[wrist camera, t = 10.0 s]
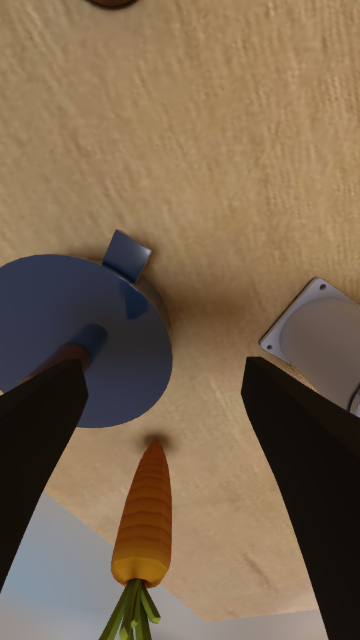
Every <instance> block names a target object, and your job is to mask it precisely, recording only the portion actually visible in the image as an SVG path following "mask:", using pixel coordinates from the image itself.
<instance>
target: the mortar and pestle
mask: <svg viewBox="0 0 360 640" xmlns="http://www.w3.org/2000/svg"><path fill="white" fill-rule="evenodd" d="M93 1H95V2H97V3H100V4H103V5H108V6H116V5H122V4H125V3H127V2H129V1H131V0H93Z"/></svg>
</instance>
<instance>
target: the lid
mask: <svg viewBox="0 0 360 640" xmlns="http://www.w3.org/2000/svg"><path fill="white" fill-rule="evenodd" d="M65 359H81V363H82V367H83V372H84V376H85V381H86V385H87V390H88V394H89V397H88V400H87V403H86V405H85V408H84V411H83V413H82V416H81V418H80V420H79V422H78V424H77V426H76V427H80V428H103V427H111V426H115V425H119V424H123V423H126V422H128V421H131V420H133V419H135V418H137V417H139V416H141V415H142V414H144V413H145V412H147V411H148V410H149V409H150V408H151V407H152V406H153V405H155V403H156V402H157V401H158V400H159V399H160V397H161V396H162V394H163V393H164V391H165V389H166V387H167V385H168V382H169V380H170V376H171V372H172V363H173V350H172V342H171V338H170V334H169V331H168V329H167V326H166V323H165V321H164V319H163V318H162V316H161V314H160V312H159V310H158V309H157V308H156V306H155V305H154V304H153V302H152V301H151V300H150V298H149V297H148V296H147V295H146V294H145V293H144V292H143V291H142V290H141V289H140V288H139V287H138V286H136V285H135V284H134V283H133V282H132V281H130V280H129V279H128V278H126V277H125V276H123V275H122V274H120V273H118V272H117V271H115V270H113V269H111V268H109V267H107V266H105V265H103V264H101V263H98V262H95V261H92V260H89V259H86V258H82V257H77V256H73V255H64V254H43V255H33V256H29V257H24V258H20V259H17V260H15V261H12V262H9V263H7V264H5V265H4V266H2V267H0V390H1V391H2V392H3V393H6V392H8V391H10V390H11V389H13V388H15V387H17V386H18V385H20V384H22V383H24V382H25V381H27V380H29V379H30V378H32V377H34V376H36V375H37V374H39V373H41V372H43V371H44V370H46V369H48V368H49V367H51V366H53V365H55V364H57V363H59V362H61V361H63V360H65Z"/></svg>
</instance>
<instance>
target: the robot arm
mask: <svg viewBox="0 0 360 640" xmlns="http://www.w3.org/2000/svg"><path fill="white" fill-rule="evenodd" d="M322 284H323V287H322V288H321V289H320V286H321V285H322ZM259 345H260V347H261V348H262V349H264V350H266V351H267V352H269V353H271V354H273V355H274V356H276V357H278V358H280V359H281V360H283V361H285V362H287V363H288V364H290V365H292V366H294V367H295V368H297V369H298V370H299V371H300V373H301V374H302V375H303V376H304V377H305V378H306V379H307V380H308V381H309V382H310V384H311V385H312V386H313V387H314V388H315V389H316V390H317V391H318V392H319V393H320V394H318V393H317V392H315V391H313V390H312V389H310V388H309V387H307V386H305V385H304V384H302V383H301V382H299V381H298V380H296V379H295V378H293V377H292V376H290V375H289V374H287V373H286V372H284V371H283V370H281V369H280V368H278V367H277V366H275V365H274V364H272V363H270V362H269V361H267V360H266V359H264V358H262V357H247V359H246V365H245V371H244V377H243V383H242V389H241V395H242V399H243V402H244V406H245V409H246V412H247V415H248V418H249V420H250V422H251V425H252V427H253V429H254V431H255V434H256V436H257V438H258V440H259V443H260V445H261V447H262V449H263V452H264V454H265V456H266V458H267V461H268V463H269V465H270V467H271V470H272V472H273V474H274V477H275V479H276V481H277V484H278V486H279V489H280V492H281V495H282V497H283V500H284V503H285V506H286V509H287V512H288V514H289V517H290V520H291V523H292V526H293V529H294V532H295V535H296V538H297V541H298V544H299V547H300V550H301V553H302V556H303V559H304V562H305V565H306V568H307V571H308V574H309V578H310V581H311V584H312V587H313V590H314V593H315V597H316V600H317V603H318V606H319V609H320V613H321V616H322V619H323V622H324V625H325V629H326V632H327V636H328V639H329V640H360V305H358V304H357V303H356V302H354V301H353V300H351V299H350V298H349V297H347V296H346V295H344V294H343V293H342V292H340V291H339V290H337V289H336V288H334V287H333V286H332V285H330V284H329V283H327V282H326V281H325V280H323V279H321V278H315V279H313V280H312V281H311V282H310V283H309V284H308V286H307V287H306V288H305V289H304V290H303V292H302V293H301V294H300V295H299V296H298V297H297V299H296V300H295V301H294V302H293V303H292V304H291V306H290V307H289V308H288V309H287V310H286V312H285V313H284V314H283V315H282V316H281V317H280V319H279V320H278V321H277V322H276V323H275V324H274V326H273V327H272V328H271V329H270V330H269V332H268V333H267V334H266V335H265V336H264V337H263V339H262V340H261V341H260V343H259ZM268 345H271V346H270V347H268V348H267V346H268ZM88 397H89V394H88V390H87V385H86V381H85V376H84V372H83V367H82V363H81V359H65V360H63V361H61V362H59V363H57V364H55V365H53V366H51V367H49V368H48V369H46V370H44V371H43V372H41V373H39V374H37V375H36V376H34V377H32V378H30V379H29V380H27V381H25V382H24V383H22V384H20V385H18V386H17V387H15V388H13V389H11V390H10V391H8V392H6V393H4V394H2V395H1V396H0V593H1V590H2V587H3V585H4V582H5V580H6V577H7V575H8V572H9V570H10V567H11V565H12V562H13V560H14V557H15V555H16V553H17V550H18V548H19V545H20V543H21V540H22V538H23V535H24V533H25V531H26V528H27V526H28V524H29V521H30V519H31V517H32V514H33V512H34V510H35V507H36V505H37V503H38V500H39V498H40V496H41V494H42V492H43V490H44V488H45V486H46V484H47V482H48V480H49V478H50V476H51V474H52V472H53V470H54V468H55V466H56V464H57V463H58V461H59V459H60V457H61V455H62V453H63V451H64V449H65V447H66V446H67V444H68V442H69V440H70V438H71V436H72V434H73V432H74V430H75V428H76V426H77V424H78V422H79V420H80V418H81V416H82V413H83V411H84V408H85V405H86V403H87V400H88Z"/></svg>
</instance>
